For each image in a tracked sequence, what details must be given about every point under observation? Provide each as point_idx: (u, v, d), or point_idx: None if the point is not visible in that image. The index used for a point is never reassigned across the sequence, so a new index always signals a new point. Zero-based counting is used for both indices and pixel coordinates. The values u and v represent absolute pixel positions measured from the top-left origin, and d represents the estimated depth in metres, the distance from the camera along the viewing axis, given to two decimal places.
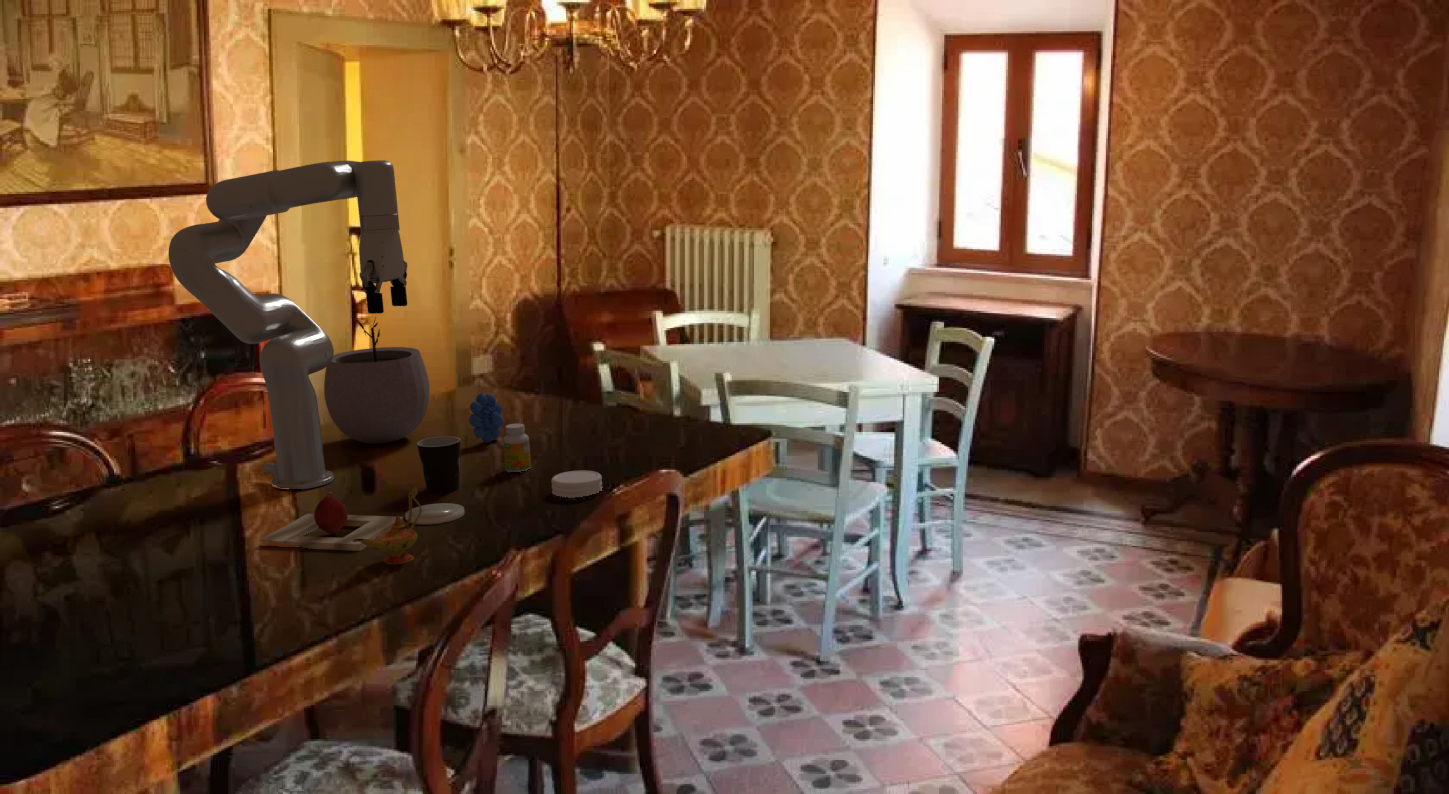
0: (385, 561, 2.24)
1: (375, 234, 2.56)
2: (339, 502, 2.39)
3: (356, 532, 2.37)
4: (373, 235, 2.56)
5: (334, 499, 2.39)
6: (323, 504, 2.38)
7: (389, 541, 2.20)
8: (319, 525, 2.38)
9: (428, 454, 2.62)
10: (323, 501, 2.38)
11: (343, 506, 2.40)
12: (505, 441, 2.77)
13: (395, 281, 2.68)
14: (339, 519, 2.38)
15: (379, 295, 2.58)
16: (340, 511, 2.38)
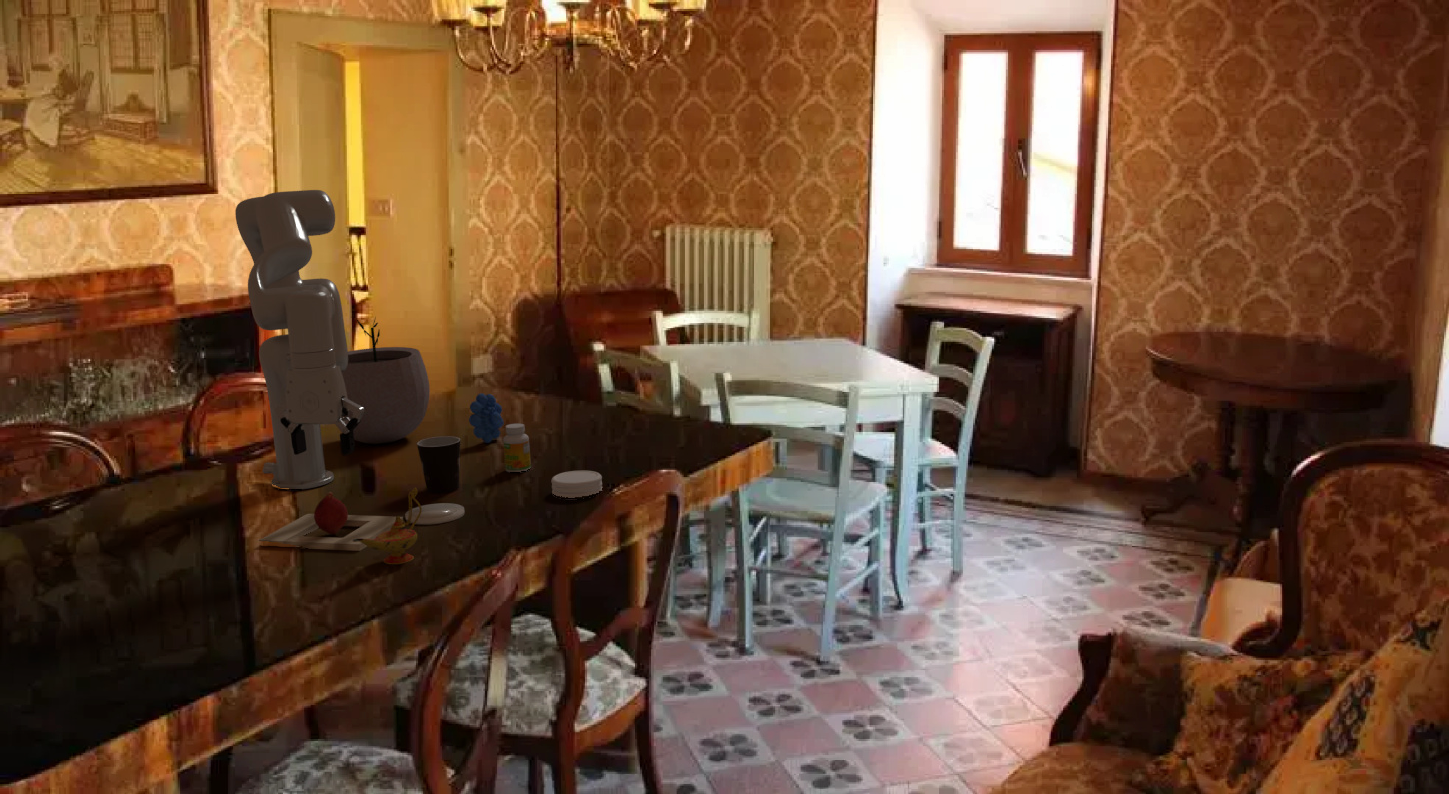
0: (385, 561, 2.24)
1: (339, 368, 2.34)
2: (339, 502, 2.39)
3: (356, 532, 2.37)
4: (339, 369, 2.34)
5: (334, 499, 2.39)
6: (323, 504, 2.38)
7: (389, 541, 2.20)
8: (319, 525, 2.38)
9: (428, 454, 2.62)
10: (323, 501, 2.38)
11: (343, 506, 2.40)
12: (505, 441, 2.77)
13: None
14: (339, 519, 2.38)
15: None
16: (340, 511, 2.38)
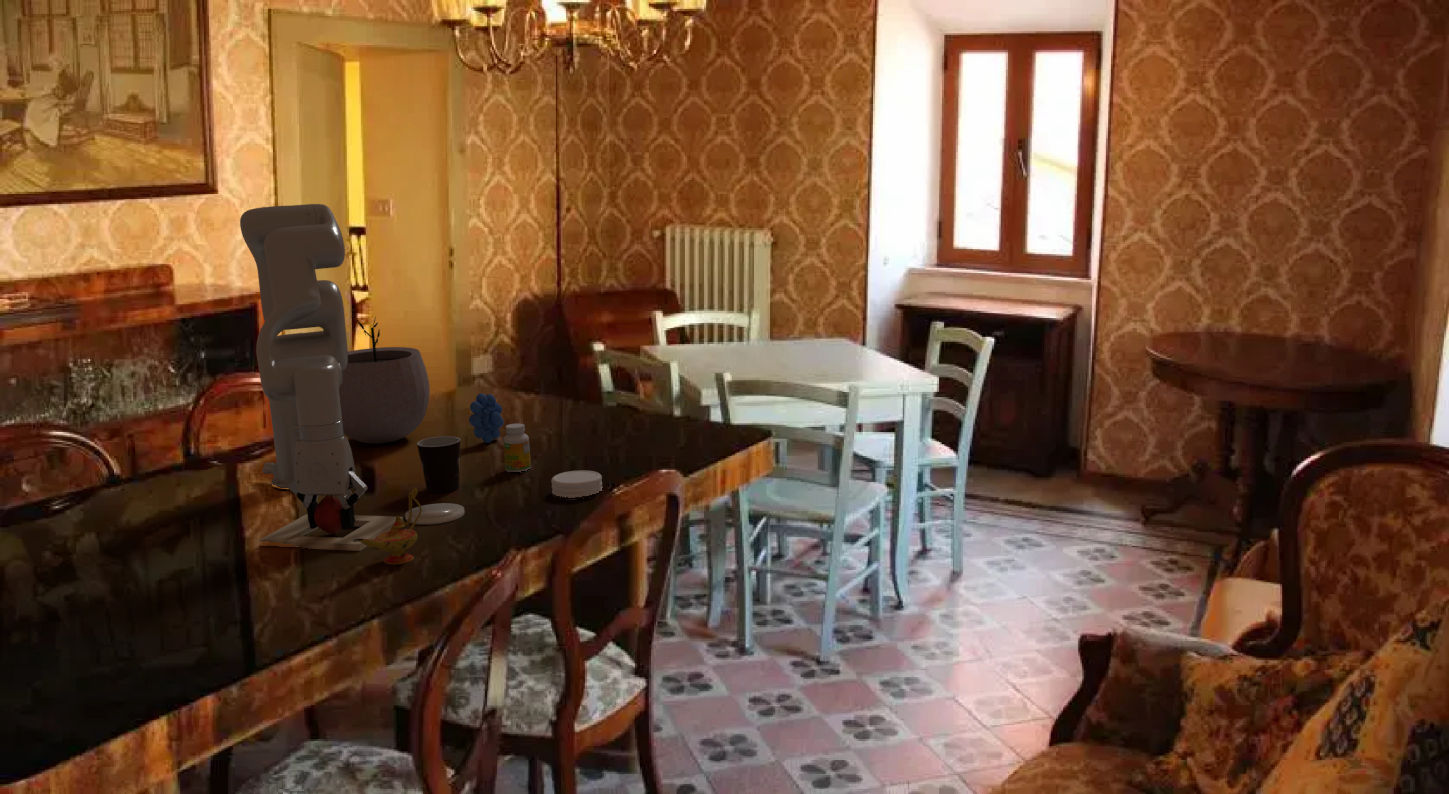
0: (385, 561, 2.24)
1: (347, 439, 2.37)
2: (339, 502, 2.39)
3: (356, 532, 2.37)
4: (346, 440, 2.37)
5: (334, 499, 2.39)
6: (323, 504, 2.38)
7: (389, 541, 2.20)
8: (319, 525, 2.38)
9: (428, 454, 2.62)
10: (323, 501, 2.38)
11: None
12: (505, 441, 2.77)
13: None
14: (339, 519, 2.38)
15: None
16: None
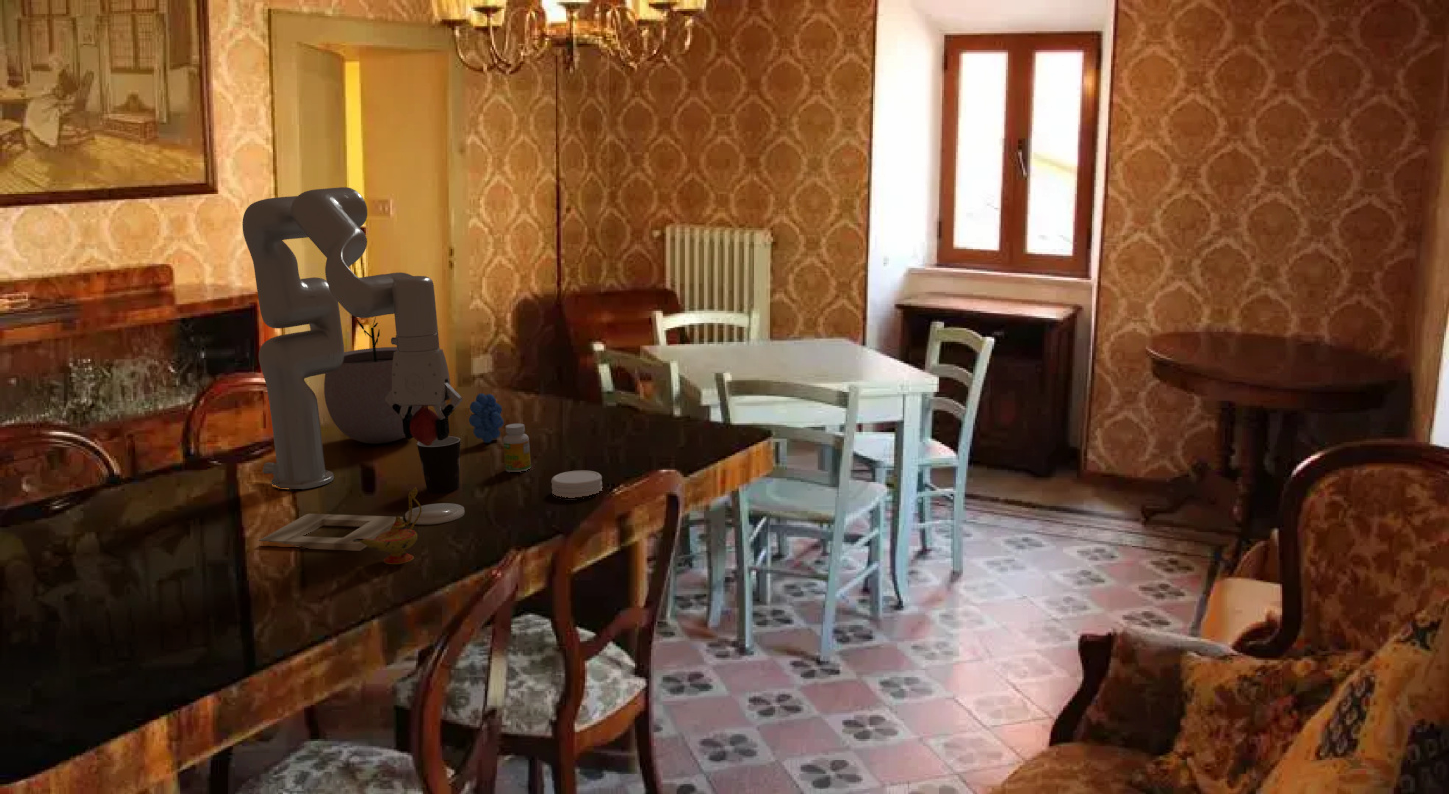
0: (385, 561, 2.24)
1: None
2: (434, 413, 2.45)
3: (356, 532, 2.37)
4: (442, 352, 2.43)
5: (429, 410, 2.45)
6: (419, 415, 2.44)
7: (389, 541, 2.20)
8: (415, 435, 2.44)
9: (428, 454, 2.62)
10: (419, 412, 2.44)
11: None
12: (505, 441, 2.77)
13: None
14: (434, 430, 2.44)
15: None
16: (435, 422, 2.44)
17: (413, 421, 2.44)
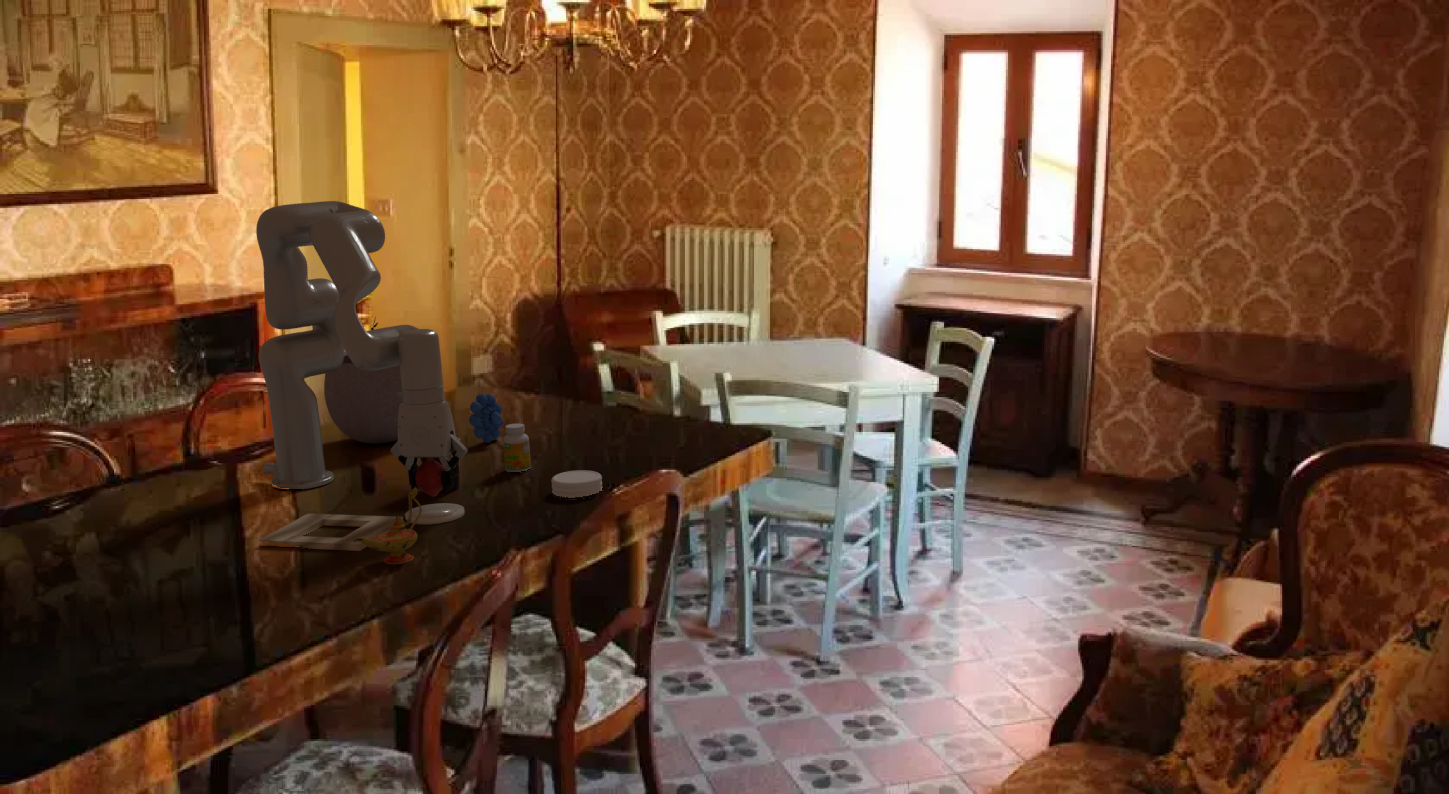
0: (385, 561, 2.24)
1: None
2: (439, 465, 2.47)
3: (356, 532, 2.37)
4: (448, 404, 2.45)
5: (435, 462, 2.47)
6: (425, 466, 2.46)
7: (389, 541, 2.20)
8: (421, 487, 2.46)
9: None
10: (425, 464, 2.46)
11: (443, 468, 2.48)
12: (505, 441, 2.77)
13: None
14: (440, 481, 2.46)
15: None
16: (440, 474, 2.46)
17: (419, 472, 2.46)
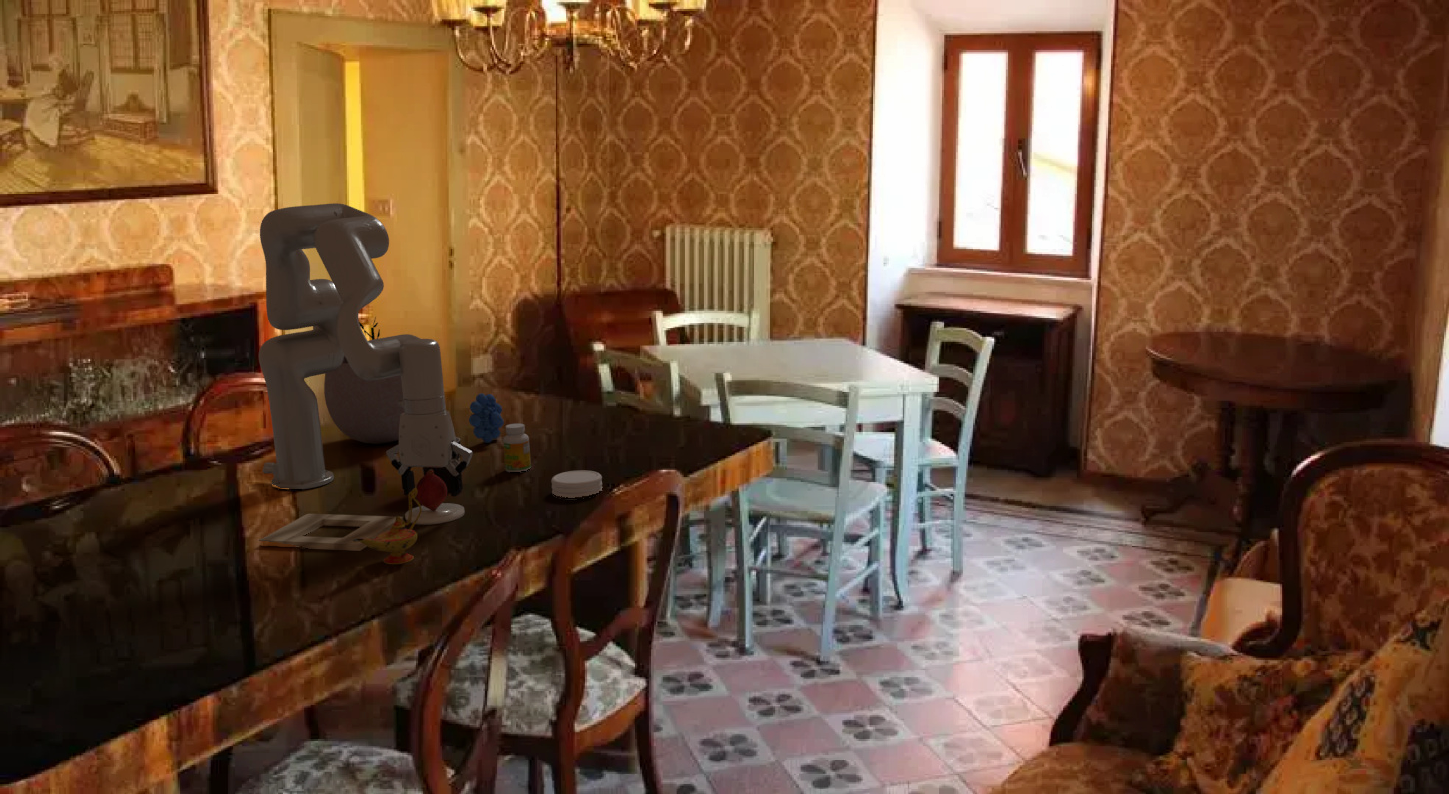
0: (385, 561, 2.24)
1: None
2: (439, 479, 2.48)
3: (356, 532, 2.37)
4: (449, 414, 2.45)
5: (435, 476, 2.48)
6: (425, 481, 2.47)
7: (389, 541, 2.20)
8: (421, 501, 2.47)
9: None
10: (425, 478, 2.47)
11: (443, 483, 2.48)
12: (505, 441, 2.77)
13: None
14: (440, 495, 2.47)
15: None
16: (440, 488, 2.47)
17: (419, 487, 2.47)
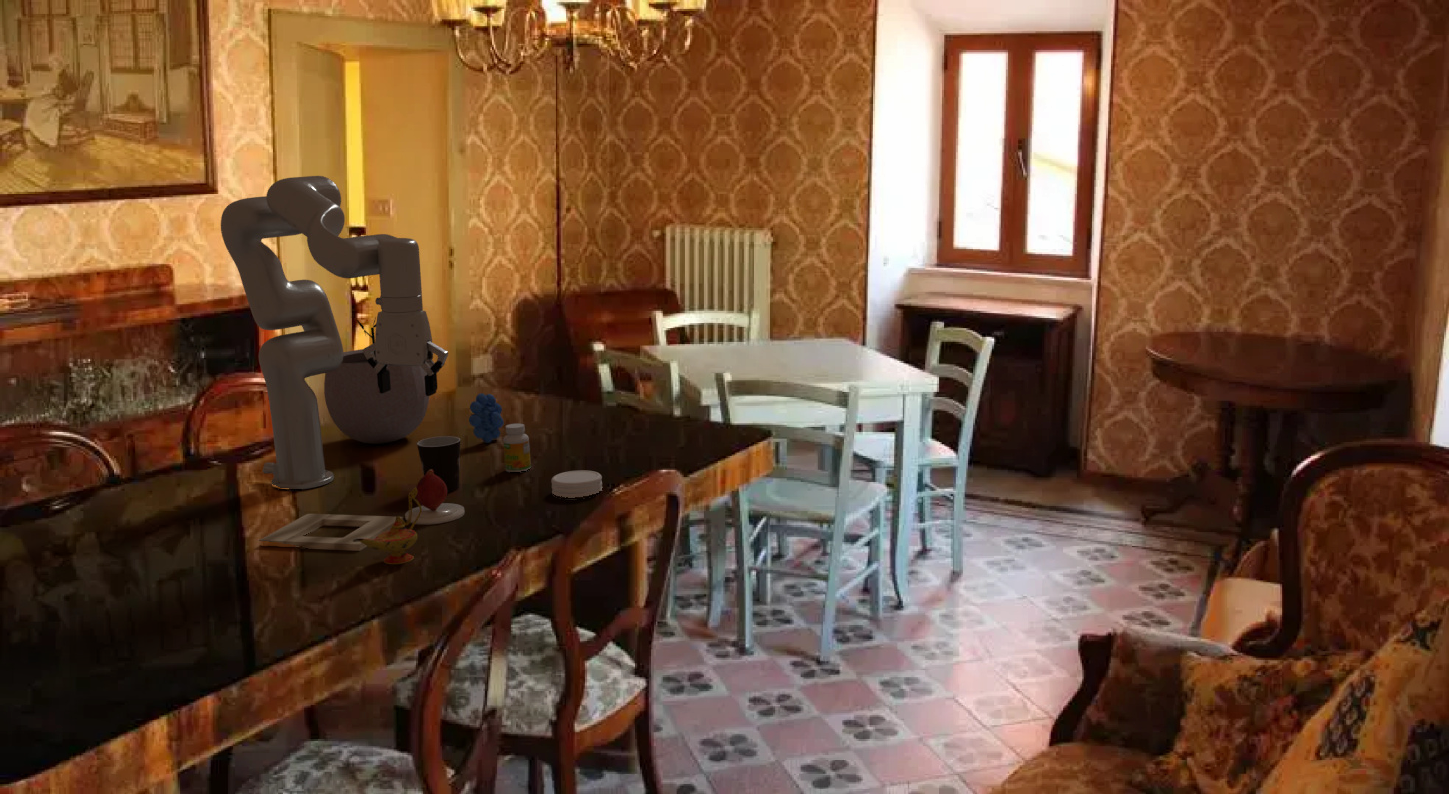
0: (385, 561, 2.24)
1: None
2: (439, 479, 2.48)
3: (356, 532, 2.37)
4: (425, 314, 2.47)
5: (435, 476, 2.48)
6: (425, 481, 2.47)
7: (389, 541, 2.20)
8: (421, 501, 2.47)
9: (428, 454, 2.62)
10: (425, 478, 2.47)
11: (443, 483, 2.48)
12: (505, 441, 2.77)
13: None
14: (440, 495, 2.47)
15: None
16: (440, 488, 2.47)
17: (419, 487, 2.47)
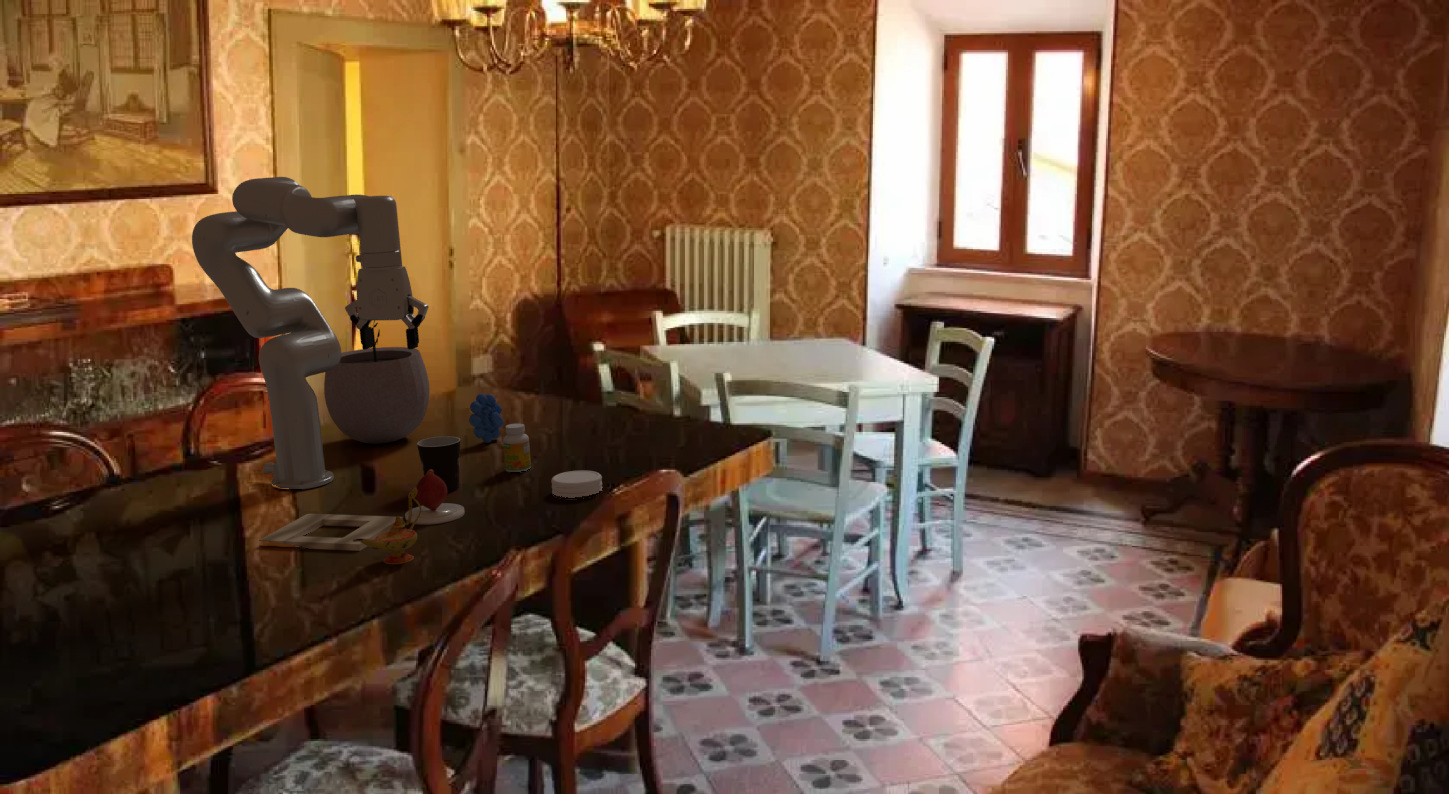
0: (385, 561, 2.24)
1: (405, 268, 2.54)
2: (439, 479, 2.48)
3: (356, 532, 2.37)
4: (405, 269, 2.53)
5: (435, 476, 2.48)
6: (425, 481, 2.47)
7: (389, 541, 2.20)
8: (421, 501, 2.47)
9: (428, 454, 2.62)
10: (425, 478, 2.47)
11: (443, 483, 2.48)
12: (505, 441, 2.77)
13: None
14: (440, 495, 2.47)
15: None
16: (441, 488, 2.47)
17: (419, 487, 2.47)
